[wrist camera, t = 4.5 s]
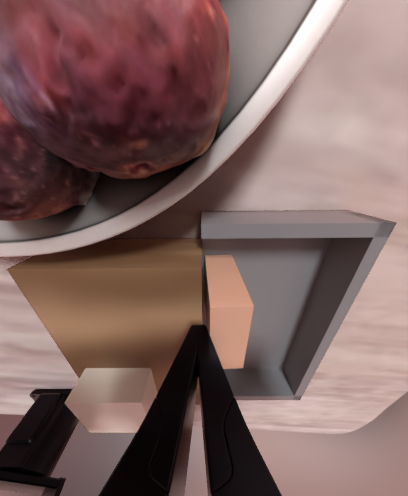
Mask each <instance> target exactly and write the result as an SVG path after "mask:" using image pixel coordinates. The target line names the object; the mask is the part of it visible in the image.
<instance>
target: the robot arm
mask: <svg viewBox="0 0 408 496" xmlns="http://www.w3.org/2000/svg"><path fill="white" fill-rule="evenodd" d="M198 378H199V391H200V403H201V415H202V428H203V440H204V450H205V451H204V452H205V464H206V477H207V489H208V496H282V495H281V493H280V491H279V489H278V487H277V485H276V483H275V482H274V479H273V477H272V475H271V474H270V472H269V470H268V468H267V466H266V464H265V462H264V460H263V458H262V456H261V454H260V452H259V450H258V448H257V446H256V444H255V442H254V440H253V438H252V436H251V434H250V432H249V429H248V427H247V425H246V423H245V421H244V418H243V416H242V414H241V411H240V409H239V407H238V404H237V402H236V399H235V397H234V394H233V392H232V389H231V387H230V384H229V382H228V379H227V377H226V374H225V372H224V369H223V367H222V364H221V362H220V359H219V357H218V354H217V352H216V349H215V347H214V344H213V342H212V339H211V337H210V334H209V332H208V329H207V327H206V325H191V327H190V329H189V331H188V333H187V335H186V337H185V339H184V341H183V343H182V345H181V347H180V349H179V351H178V353H177V355H176V357H175V359H174V361H173V363H172V365H171V367H170V369H169V371H168V373H167V375H166V377H165V379H164V381H163V383H162V385H161V387H160V389H159V391H158V393H157V395H156V397H157V398H155V399H154V401H153V403H152V405H151V407H150V409H149V411H148V412H147V414H146V416H145V418H144V420H143V422H142V424H141V426H140V427H139V429H138V431H137V433H136V434H135V436H134V438H133V439H132V441H131V443H130V445H129V446H128V448H127V449H126V451H125V453H124V455H123V456H122V458H121V460H120V461H119V463H118V464H117V466H116V468H115V469H114V471H113V473H112V474H111V476H110V477H109V479H108V481H107V482H106V484H105V486H104V487H103V489H102V491H101V492H100V494H99V495H98V496H184V493H185V485H186V477H187V467H188V459H189V451H190V443H191V434H192V426H193V417H194V409H195V400H196V392H197V384H198ZM71 391H72V390H34V391H32V393H31V394H30V397H31V398H32V399H33V400H34V401H35V402H34V404H33V405H32V406H31V408H30V409H29V410H28V412H27V413H26V414H25V416H24V417H23V418H22V420H21V421H20V423H19V424H18V425H17V427H16V428H15V429H14V431H13V432H12V433H11V435H10V436H9V438H8V439H7V440H6V444H5V445H4V447H3V448H2V449H1V451H0V490H8V491H15V492H22V493H30V494H37V495H41V496H59V495H60V493H61V490H62V488H63V485H64V482H65V480H66V478H59V479H58V478H52V477H50V476H51V474H52V472H53V470H54V468H55V466H56V464H57V462H58V460H59V458H60V457H61V454H62V453H63V451H64V449H65V447H66V444H67V443H68V441H69V438H70V437H71V435H72V433H73V431H74V429H75V427H76V425H77V423H78V421H79V420H78V418H77V417H76V416H75V415H74V414H73V413H72V411H71V410H70V409H69V408H68V407H67V406H66V404H65V401H66V399H67V398H68V396H69V395H70V393H71Z"/></svg>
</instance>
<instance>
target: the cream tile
mask: <svg viewBox="0 0 408 496" xmlns="http://www.w3.org/2000/svg"><path fill="white" fill-rule="evenodd" d="M157 393H158V392H157V388H156V385H155V381H154V378H153V374H152V370H151V368H85V370H84V371H83V373H82V375H81V376H80V378H79V380H78V381H77V383H76V385H75V386H74V388H73V390H72V391H71V393H70V395H69V396H68V398H67V399H66V401H65V404H66V406H67V407H68V408H69V409H70V410H71V411H72V413H73V414H74V415H75V416H76V417H77V418H78V420H79V421H80V422H81V423H82V424H83V425H84V427H85V428H86V429H87V430H88V431H89V433H135V432H136V433H137V431H138V429H139V427H140V426H141V424H142V422H143V420H144V418H145V416H146V414H147V412H148V411H149V409H150V407H151V405H152V403H153V401H154V399H155V398H157V397H156V395H157Z"/></svg>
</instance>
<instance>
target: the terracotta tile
mask: <svg viewBox="0 0 408 496" xmlns="http://www.w3.org/2000/svg"><path fill="white" fill-rule="evenodd" d="M205 308H206V324H207V329H208V332H209V334H210V337H211V339H212V342H213V344H214V347H215V349H216V352H217V354H218V357H219V359H220V362H221V364H222V367H223V369H235V368H243V365H244V360H245V354H246V348H247V343H248V337H249V331H250V326H251V320H252V314H253V309H254V305H253V303H252V300H251V298H250V296H249V293H248V291H247V289H246V286H245V284H244V282H243V279H242V277H241V275H240V272H239V270H238V268H237V265H236V263H235V261H234V258H233V256H232V254H228V255H205Z"/></svg>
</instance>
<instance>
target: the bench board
mask: <svg viewBox="0 0 408 496" xmlns="http://www.w3.org/2000/svg"><path fill="white" fill-rule="evenodd" d="M7 270H8V272H9V273H10V275H11V276H12V278H13V279H14V281H15V282H16V284H17V285H18V287H19V288H20V290H21V291H22V293H23V294H24V296H25V297H26V299H27V300H28V302H29V303H30V305H31V306H32V308H33V309H34V311H35V312H36V314H37V315H38V317H39V318H40V320H41V322H42V323H43V325H44V326H45V328H46V329H47V331H48V332H49V334H50V335H51V337H52V338H53V340H54V341H55V343H56V344H57V346H58V347H59V349H60V350H61V352H62V353H63V355H64V356H65V358H66V359H67V361H68V362H69V364H70V365H71V367H72V368H73V370H74V371H75V373H76V374H77V376H78V377H79V378H80V376H81V375H82V373H83V371H84V370H85V368H151V370H152V374H153V378H154V381H155V385H156V388H157V392H158V391H159V389H160V387H161V385H162V383H163V381H164V379H165V377H166V375H167V373H168V371H169V369H170V367H171V365H172V363H173V361H174V359H175V357H176V355H177V353H178V351H179V349H180V347H181V345H182V343H183V341H184V339H185V337H186V335H187V333H188V331H189V329H190V327H191V325H203V266H202V239H201V238H178V239H106V240H103V241H100V242H97V243H94V244H91V245H88V246H84V247H80V248H76V249H72V250H67V251H62V252H57V253H51V254H43V255H35V256H33V257H31V258H29V259H27V260H25V261H23V262H21V263H18V264H16V265H14V266H12V267H10V268H8V269H7ZM195 404H201V403H200V391H199V378H198V384H197V392H196V400H195Z"/></svg>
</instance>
